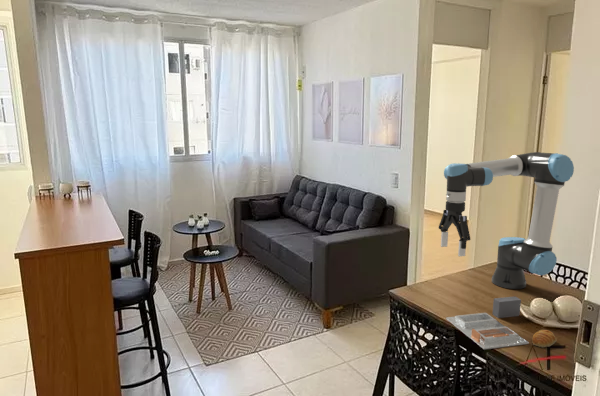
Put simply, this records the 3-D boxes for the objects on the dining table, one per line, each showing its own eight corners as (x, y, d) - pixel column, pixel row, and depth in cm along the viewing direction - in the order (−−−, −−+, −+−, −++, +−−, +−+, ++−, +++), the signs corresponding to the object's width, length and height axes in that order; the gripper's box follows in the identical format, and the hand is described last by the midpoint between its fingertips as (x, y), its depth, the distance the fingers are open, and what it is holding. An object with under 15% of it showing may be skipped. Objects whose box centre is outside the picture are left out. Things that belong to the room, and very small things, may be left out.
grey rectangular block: (513, 312, 176) (515, 296, 175) (519, 315, 173) (521, 299, 172) (492, 314, 174) (493, 298, 173) (498, 318, 171) (499, 301, 170)
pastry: (547, 351, 146) (548, 341, 145) (526, 344, 151) (527, 334, 150) (557, 342, 152) (558, 332, 151) (537, 335, 157) (538, 326, 156)
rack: (485, 314, 174) (486, 306, 173) (528, 343, 151) (529, 334, 150) (446, 318, 170) (446, 310, 169) (484, 349, 147) (484, 339, 146)
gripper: (432, 196, 185) (429, 243, 189) (464, 207, 161) (461, 260, 165) (447, 195, 187) (445, 242, 190) (482, 206, 163) (478, 259, 166)
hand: (452, 251), depth 178 cm, fingers open, 13 cm apart
